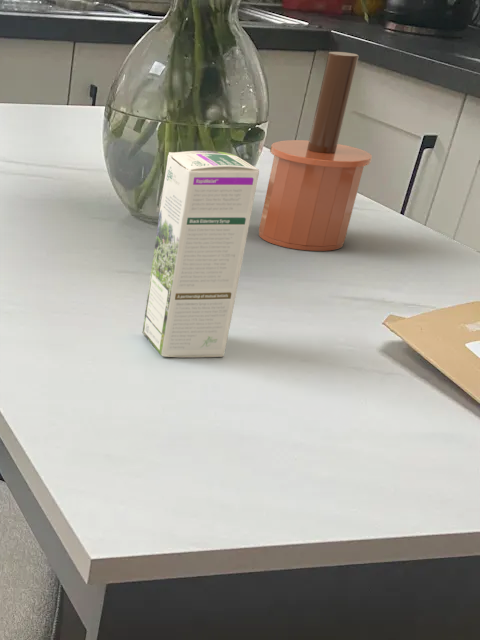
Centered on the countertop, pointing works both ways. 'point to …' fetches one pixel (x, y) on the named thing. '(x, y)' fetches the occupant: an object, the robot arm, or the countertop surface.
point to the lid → (328, 121)
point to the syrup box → (198, 252)
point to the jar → (308, 205)
